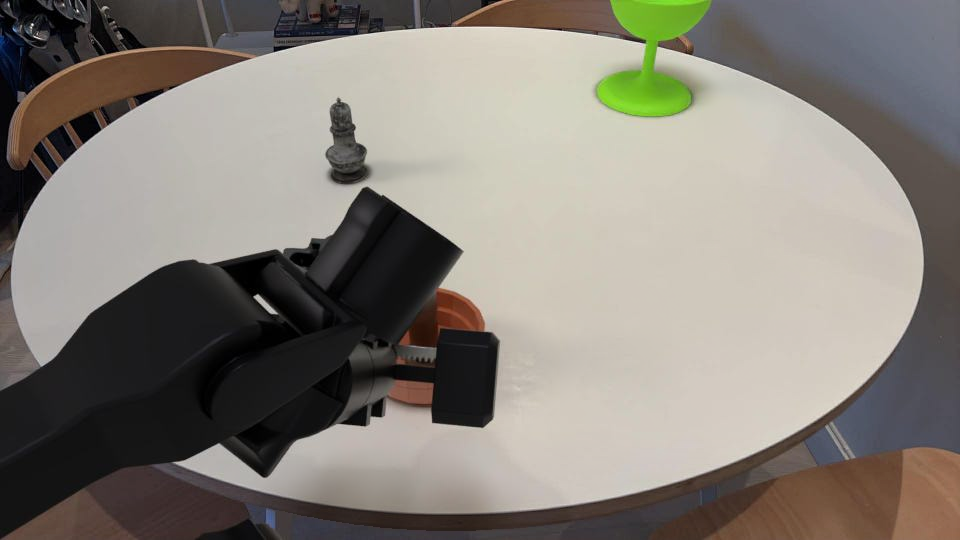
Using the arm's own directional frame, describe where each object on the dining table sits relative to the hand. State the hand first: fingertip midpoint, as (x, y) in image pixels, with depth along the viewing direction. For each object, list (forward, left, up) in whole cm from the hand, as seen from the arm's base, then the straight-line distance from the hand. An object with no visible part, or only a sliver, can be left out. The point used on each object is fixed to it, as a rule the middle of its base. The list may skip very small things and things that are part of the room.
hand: (384, 361), depth 55 cm
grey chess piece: (+31, +39, -14) cm, 52 cm away
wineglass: (+80, +18, -14) cm, 83 cm away
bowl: (+11, +6, -14) cm, 18 cm away
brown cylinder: (+11, +6, -13) cm, 18 cm away
